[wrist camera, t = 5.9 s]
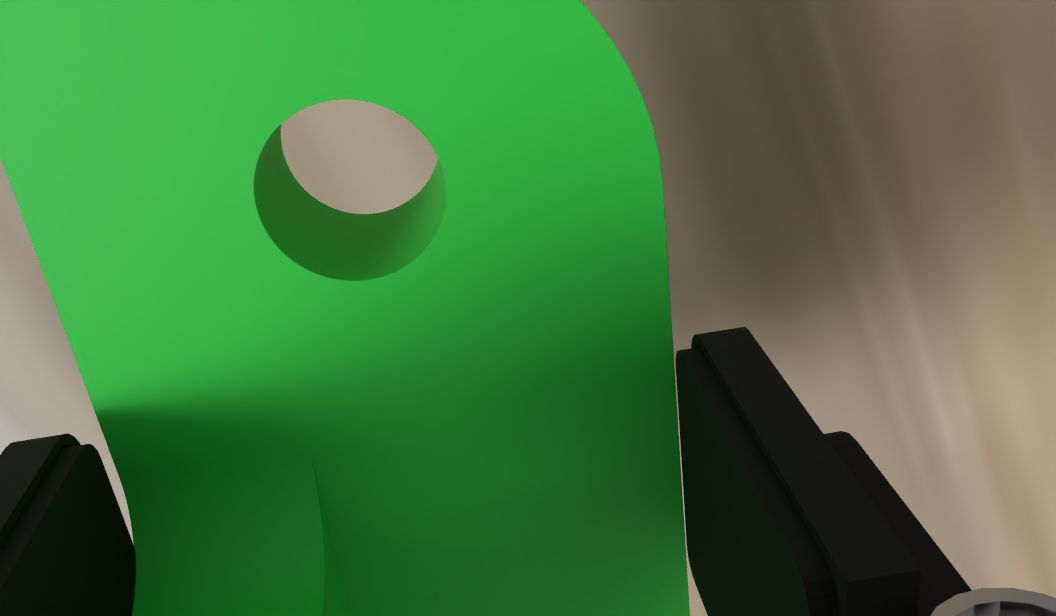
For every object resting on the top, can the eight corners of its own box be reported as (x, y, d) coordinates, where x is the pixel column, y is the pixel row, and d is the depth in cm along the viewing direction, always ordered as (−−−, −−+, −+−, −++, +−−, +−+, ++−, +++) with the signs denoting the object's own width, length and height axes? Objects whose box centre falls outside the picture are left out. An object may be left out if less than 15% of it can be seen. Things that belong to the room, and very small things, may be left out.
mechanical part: (666, 690, 15) (900, 1448, 8) (287, 757, 15) (166, 1608, 8) (600, -146, 10) (1106, -178, 3) (15, -68, 10) (-1195, 131, 2)
